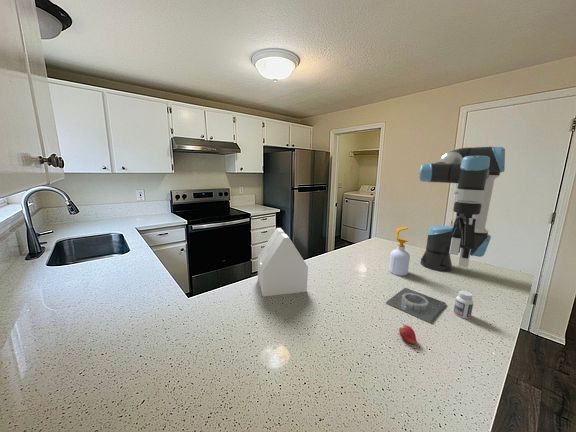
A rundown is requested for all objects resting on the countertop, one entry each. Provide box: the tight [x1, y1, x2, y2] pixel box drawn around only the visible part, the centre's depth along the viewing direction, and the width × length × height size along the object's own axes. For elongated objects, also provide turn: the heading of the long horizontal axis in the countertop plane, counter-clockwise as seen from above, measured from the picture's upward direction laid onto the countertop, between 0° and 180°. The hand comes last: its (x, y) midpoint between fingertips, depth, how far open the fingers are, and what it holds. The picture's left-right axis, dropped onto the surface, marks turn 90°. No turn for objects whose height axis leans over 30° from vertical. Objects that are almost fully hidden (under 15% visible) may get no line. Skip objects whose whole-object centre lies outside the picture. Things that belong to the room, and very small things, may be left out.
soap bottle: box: [388, 226, 411, 277], centre depth 121 cm, size 9×9×25 cm
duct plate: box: [385, 287, 447, 324], centre depth 94 cm, size 18×16×3 cm
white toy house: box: [257, 227, 309, 297], centre depth 104 cm, size 19×15×25 cm
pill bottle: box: [453, 289, 474, 319], centre depth 87 cm, size 5×5×9 cm
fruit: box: [398, 322, 418, 346], centre depth 74 cm, size 4×6×5 cm
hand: (457, 260), depth 85 cm, fingers open, 13 cm apart
